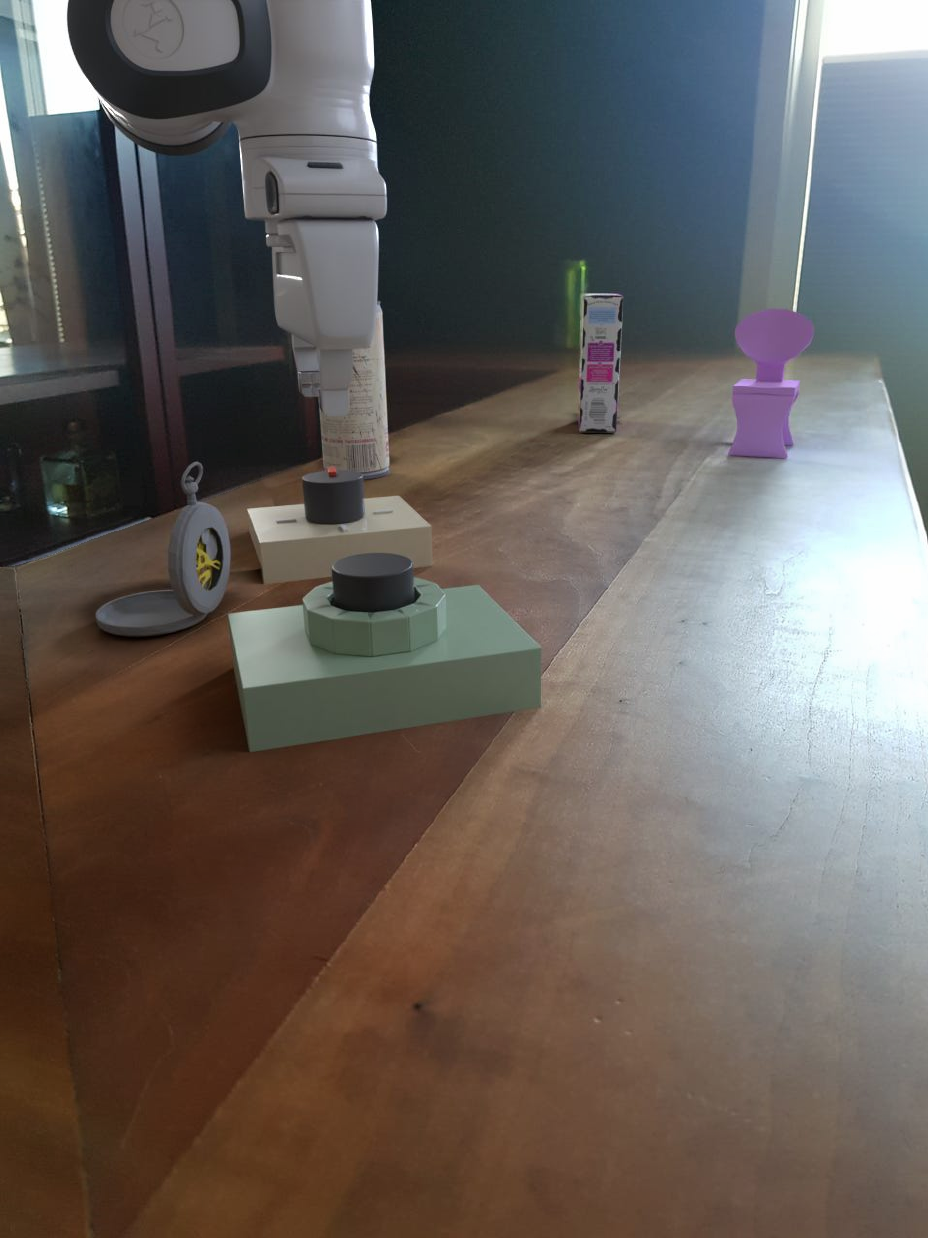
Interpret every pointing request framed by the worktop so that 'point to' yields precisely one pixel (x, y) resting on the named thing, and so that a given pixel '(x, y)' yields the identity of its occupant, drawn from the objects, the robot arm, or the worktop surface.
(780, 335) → the toy chair
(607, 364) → the candy bar box
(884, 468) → the worktop surface
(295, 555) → the dial panel
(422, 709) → the button base
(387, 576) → the black push button
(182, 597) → the pocket watch
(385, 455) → the aerosol can
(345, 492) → the dial
